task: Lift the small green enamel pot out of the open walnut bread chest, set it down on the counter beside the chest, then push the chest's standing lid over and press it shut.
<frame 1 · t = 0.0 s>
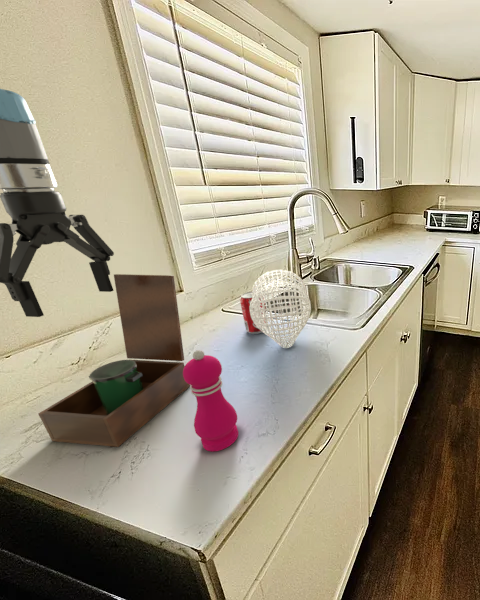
hand: (74, 302, 65), 25 cm above the worktop, tool pointing down, fingers open, 13 cm apart
pepper mill: (221, 440, 64), on the worktop
lid: (149, 318, 77), point 17 cm above the worktop, hinge at 100.0°
chest: (129, 410, 72), on the worktop
heart: (287, 347, 99), on the worktop
green pot: (128, 407, 72), point 1 cm above the worktop, touching chest
soda can: (258, 330, 110), on the worktop
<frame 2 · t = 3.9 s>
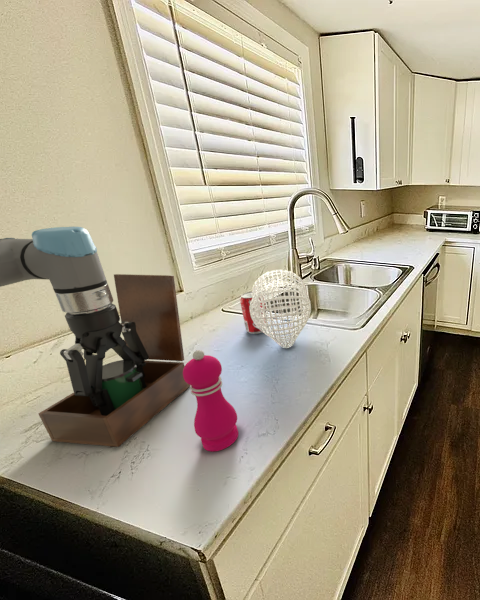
hand: (126, 403, 72), 2 cm above the worktop, tool pointing down, fingers closed on green pot, 7 cm apart
green pot: (128, 407, 72), point 1 cm above the worktop, touching chest, gripper
everything else where it was.
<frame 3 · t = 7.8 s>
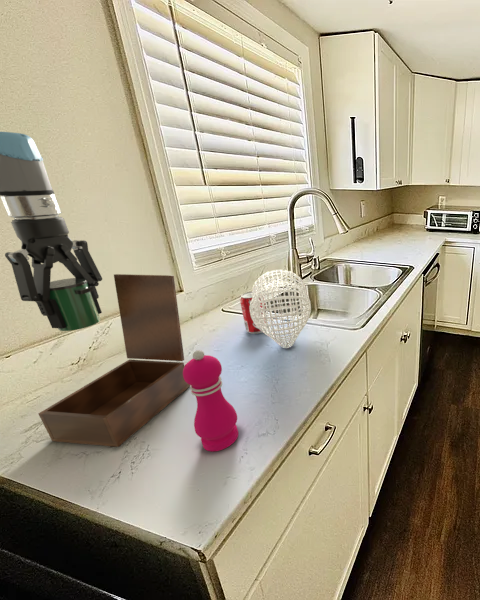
hand: (78, 319, 74), 18 cm above the worktop, tool pointing down, fingers closed on green pot, 7 cm apart
green pot: (80, 324, 75), point 17 cm above the worktop, touching gripper
everything else where it was.
when the fingers open (1 cm above the worktop, at t = 12.0 s): green pot stays where it is, on the worktop.
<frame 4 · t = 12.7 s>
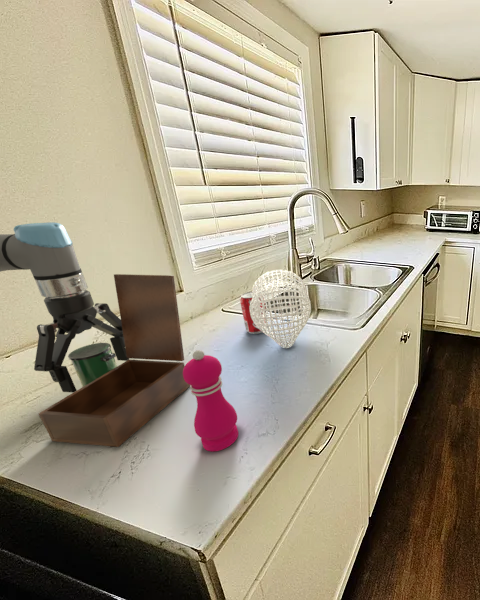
hand: (98, 374, 80), 3 cm above the worktop, tool pointing down, fingers open, 13 cm apart
green pot: (103, 385, 82), on the worktop
everything else where it was.
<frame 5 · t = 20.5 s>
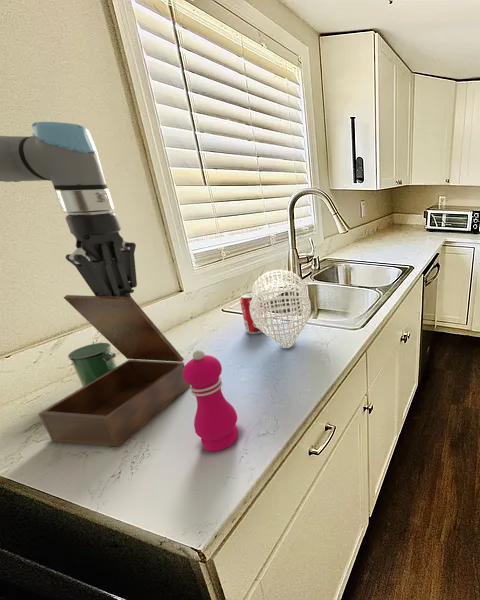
hand: (128, 322, 72), 19 cm above the worktop, tool pointing down, fingers closed
lid: (129, 331, 72), point 17 cm above the worktop, hinge at 67.5°, touching gripper
everything else where it was.
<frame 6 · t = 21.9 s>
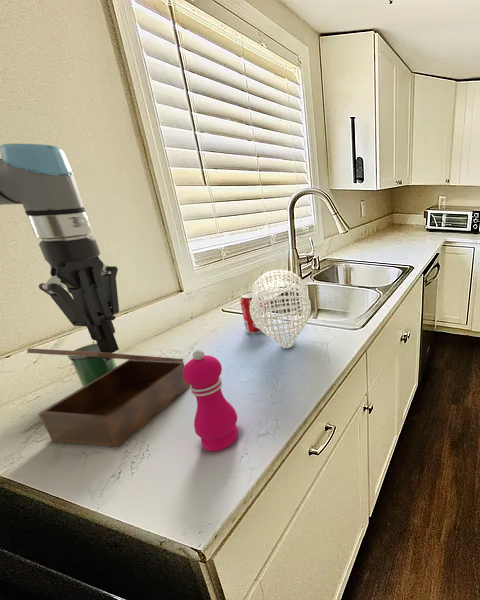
hand: (109, 350, 68), 15 cm above the worktop, tool pointing down, fingers closed
lid: (115, 356, 69), point 13 cm above the worktop, hinge at 34.5°, touching gripper
everything else where it was.
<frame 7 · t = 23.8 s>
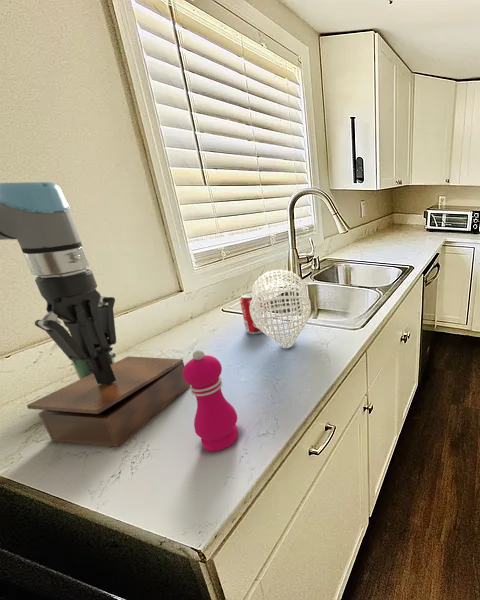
hand: (106, 381, 67), 9 cm above the worktop, tool pointing down, fingers closed
lid: (115, 380, 69), point 8 cm above the worktop, hinge at 5.1°, touching gripper
everything else where it was.
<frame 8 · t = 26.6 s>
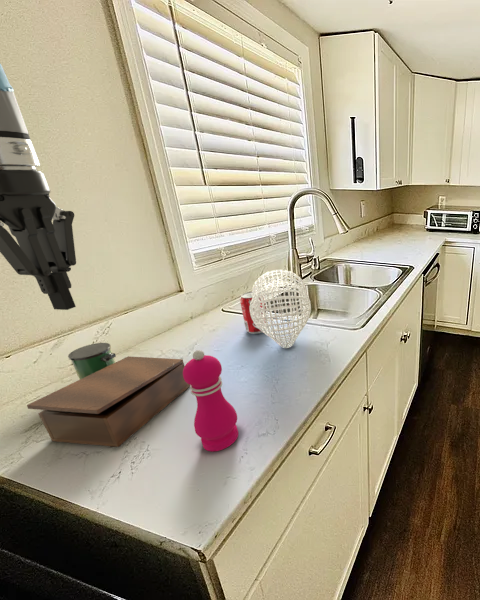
hand: (65, 307, 59), 26 cm above the worktop, tool pointing down, fingers closed
lid: (115, 380, 69), point 8 cm above the worktop, hinge at 5.1°
everything else where it was.
at the end: green pot inside the target area (0.1 cm from its centre), on the worktop; green pot tilted 0°; lid at +5° (first picture: +100°) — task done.
